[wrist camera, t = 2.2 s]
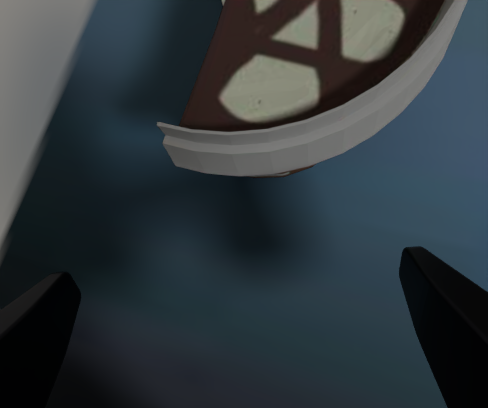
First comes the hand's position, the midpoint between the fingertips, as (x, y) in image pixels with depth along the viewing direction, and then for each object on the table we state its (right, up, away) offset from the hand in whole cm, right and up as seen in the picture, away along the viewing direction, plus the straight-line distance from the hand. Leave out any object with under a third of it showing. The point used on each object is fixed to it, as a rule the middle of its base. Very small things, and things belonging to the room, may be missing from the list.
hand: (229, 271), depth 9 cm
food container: (+4, +7, +9) cm, 12 cm away
